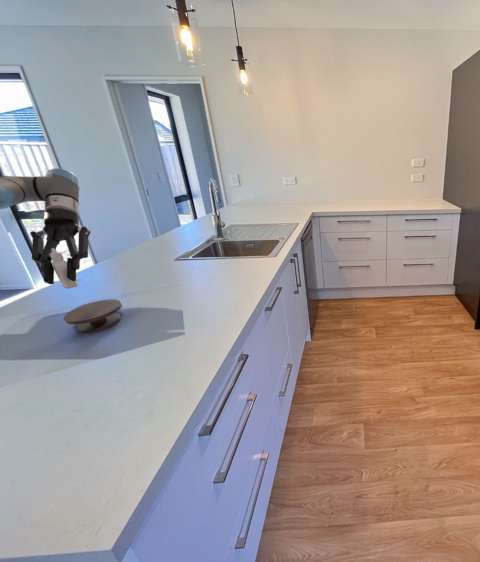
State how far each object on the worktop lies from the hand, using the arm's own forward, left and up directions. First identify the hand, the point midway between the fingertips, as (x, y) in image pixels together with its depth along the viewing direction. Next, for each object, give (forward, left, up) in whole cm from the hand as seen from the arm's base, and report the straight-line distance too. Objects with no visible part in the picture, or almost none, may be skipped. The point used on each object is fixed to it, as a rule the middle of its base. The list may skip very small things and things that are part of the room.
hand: (60, 280), depth 87 cm
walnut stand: (+6, -7, -14) cm, 16 cm away
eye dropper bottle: (+1, +4, -3) cm, 5 cm away
